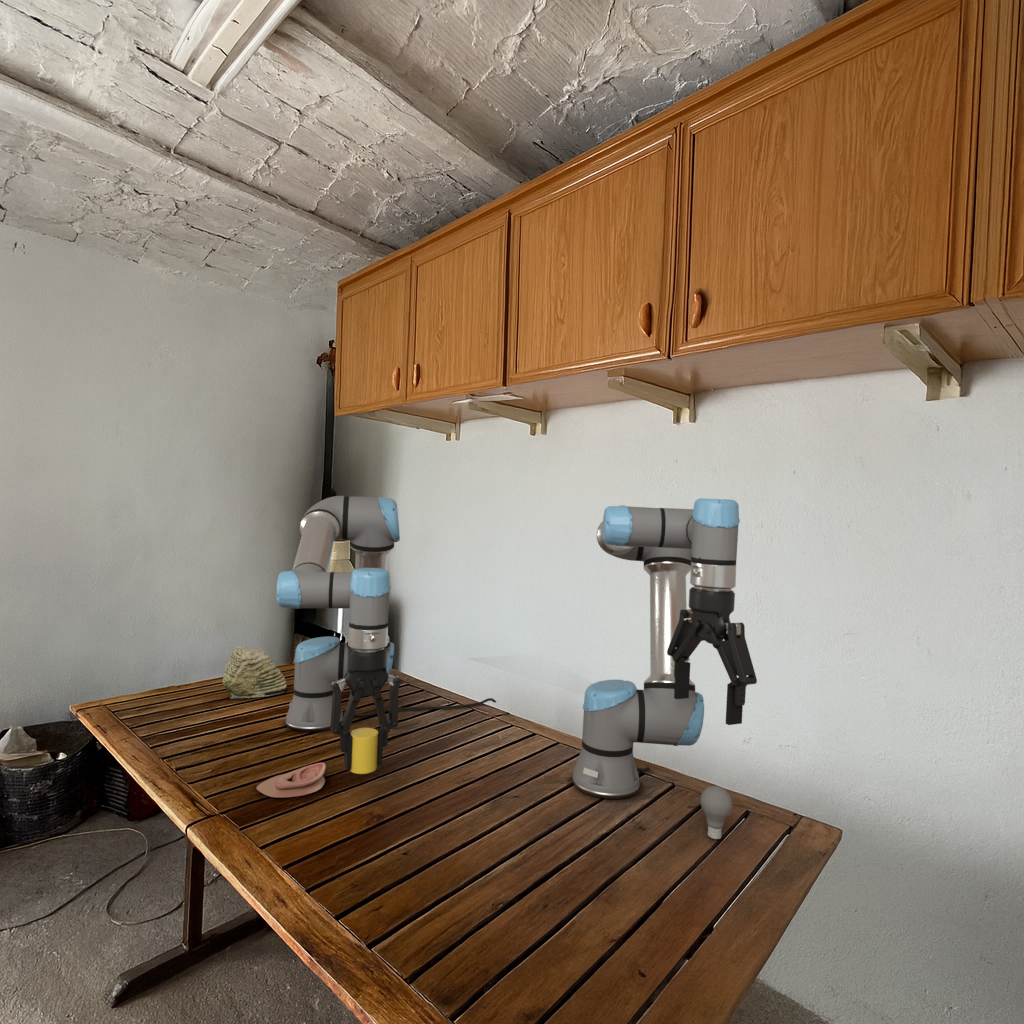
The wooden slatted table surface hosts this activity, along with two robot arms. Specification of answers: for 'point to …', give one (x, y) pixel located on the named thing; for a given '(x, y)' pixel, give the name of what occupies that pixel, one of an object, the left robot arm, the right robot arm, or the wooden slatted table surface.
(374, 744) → the cylinder
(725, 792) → the light bulb
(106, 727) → the wooden slatted table surface
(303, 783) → the anatomical model
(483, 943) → the wooden slatted table surface
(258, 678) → the fossil
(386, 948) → the wooden slatted table surface
